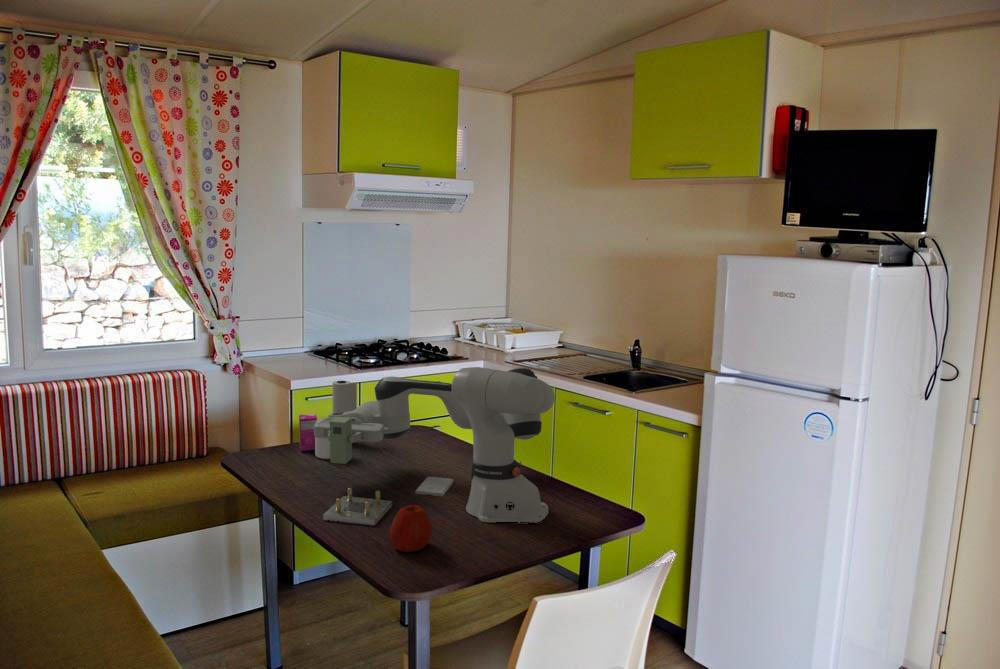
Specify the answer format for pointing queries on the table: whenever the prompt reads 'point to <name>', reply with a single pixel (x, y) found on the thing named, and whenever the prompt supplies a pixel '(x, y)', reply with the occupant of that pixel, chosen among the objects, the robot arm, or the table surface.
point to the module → (340, 440)
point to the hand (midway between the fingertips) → (339, 439)
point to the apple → (410, 529)
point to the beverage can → (322, 446)
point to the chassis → (358, 509)
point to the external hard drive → (434, 486)
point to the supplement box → (307, 432)
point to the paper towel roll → (344, 396)
